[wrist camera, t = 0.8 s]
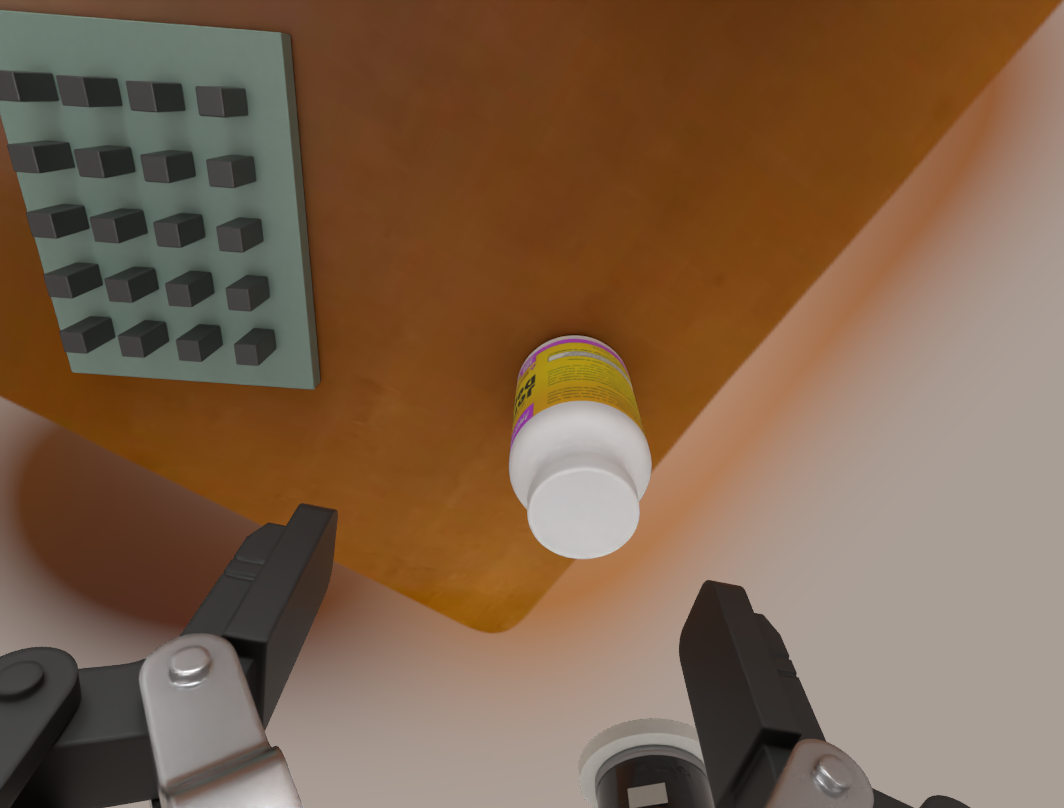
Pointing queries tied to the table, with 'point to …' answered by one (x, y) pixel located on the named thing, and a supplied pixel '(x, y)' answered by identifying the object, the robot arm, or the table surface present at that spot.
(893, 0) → the table surface
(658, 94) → the table surface
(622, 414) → the supplement bottle
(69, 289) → the board
